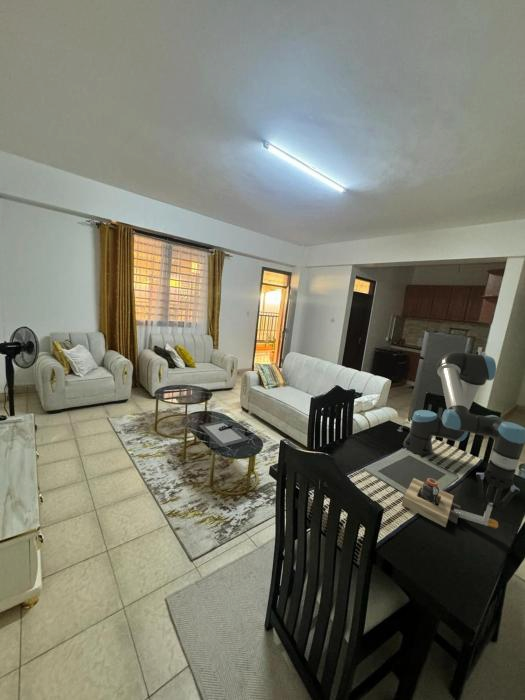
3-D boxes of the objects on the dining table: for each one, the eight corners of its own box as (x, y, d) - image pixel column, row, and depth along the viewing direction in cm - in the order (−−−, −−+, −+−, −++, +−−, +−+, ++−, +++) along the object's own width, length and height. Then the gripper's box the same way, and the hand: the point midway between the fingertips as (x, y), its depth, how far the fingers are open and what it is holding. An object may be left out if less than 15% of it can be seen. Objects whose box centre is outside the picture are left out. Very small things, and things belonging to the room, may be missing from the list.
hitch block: (411, 485, 132) (413, 477, 131) (459, 507, 120) (462, 499, 119) (401, 504, 118) (403, 496, 117) (454, 532, 106) (457, 523, 106)
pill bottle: (437, 510, 117) (443, 486, 115) (422, 507, 118) (427, 483, 116) (431, 500, 123) (437, 477, 120) (417, 497, 124) (422, 475, 121)
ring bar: (454, 507, 115) (498, 520, 106) (454, 511, 115) (498, 524, 106) (453, 512, 112) (498, 526, 103) (453, 515, 113) (498, 529, 104)
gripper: (480, 460, 103) (464, 514, 108) (527, 477, 95) (507, 535, 100) (481, 452, 109) (466, 504, 114) (525, 468, 101) (507, 523, 106)
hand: (485, 519), depth 107 cm, fingers closed
